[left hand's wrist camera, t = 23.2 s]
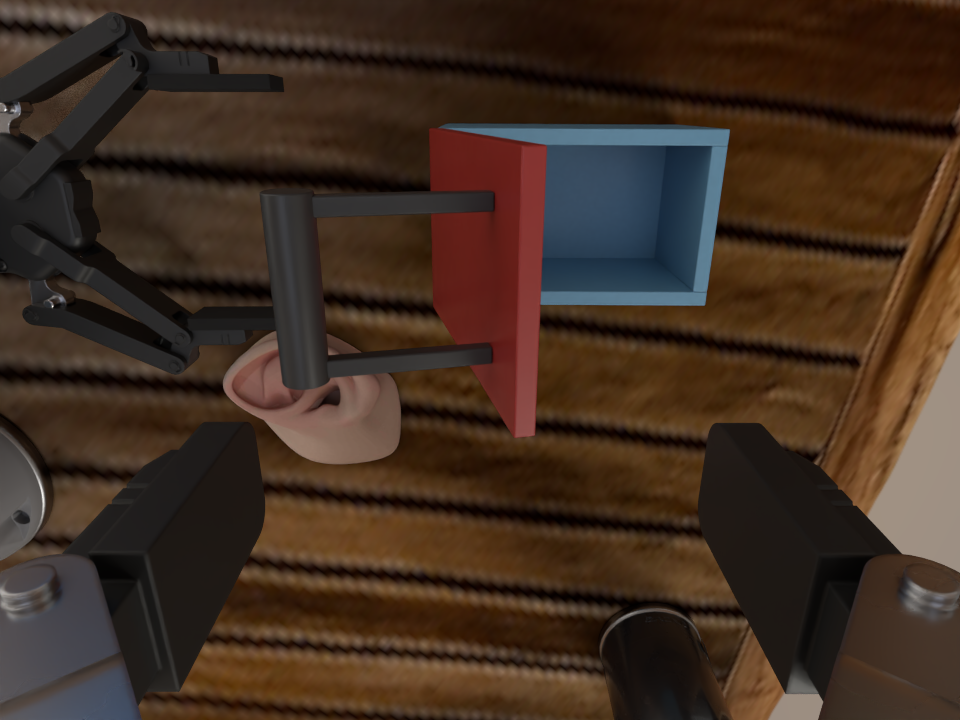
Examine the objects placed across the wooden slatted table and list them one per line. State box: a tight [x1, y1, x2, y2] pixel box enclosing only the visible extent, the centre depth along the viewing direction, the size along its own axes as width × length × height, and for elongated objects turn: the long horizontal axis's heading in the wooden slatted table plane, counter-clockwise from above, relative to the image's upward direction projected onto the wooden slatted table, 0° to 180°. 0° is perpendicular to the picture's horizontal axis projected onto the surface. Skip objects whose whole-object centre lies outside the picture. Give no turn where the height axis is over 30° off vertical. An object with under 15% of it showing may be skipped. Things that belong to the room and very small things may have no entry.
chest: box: [439, 123, 730, 305], centre depth 41 cm, size 16×10×10 cm, turn 90°
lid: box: [260, 128, 547, 438], centre depth 27 cm, size 16×10×9 cm
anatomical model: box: [223, 331, 401, 464], centre depth 49 cm, size 13×4×12 cm
